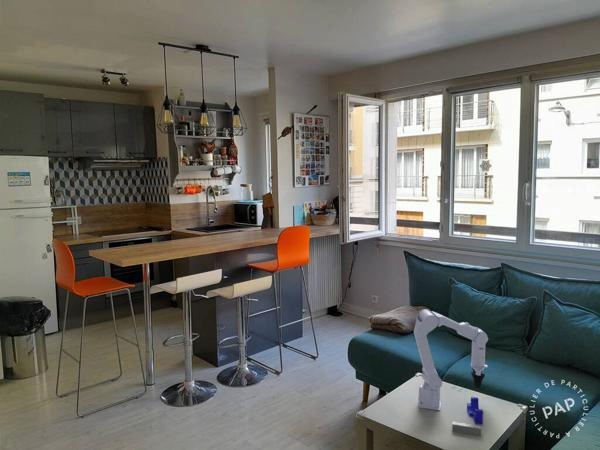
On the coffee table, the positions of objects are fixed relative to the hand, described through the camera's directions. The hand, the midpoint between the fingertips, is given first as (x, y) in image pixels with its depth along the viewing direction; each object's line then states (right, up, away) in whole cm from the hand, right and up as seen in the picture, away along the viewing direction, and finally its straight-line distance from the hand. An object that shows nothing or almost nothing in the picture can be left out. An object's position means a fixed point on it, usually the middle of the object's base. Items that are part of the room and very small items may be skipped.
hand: (477, 383), depth 209 cm
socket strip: (-13, -12, -22) cm, 28 cm away
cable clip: (-5, -11, -10) cm, 16 cm away
